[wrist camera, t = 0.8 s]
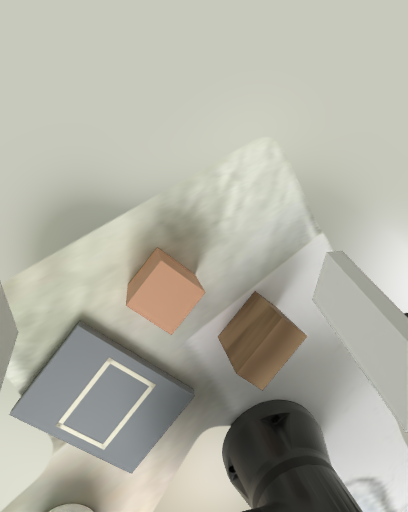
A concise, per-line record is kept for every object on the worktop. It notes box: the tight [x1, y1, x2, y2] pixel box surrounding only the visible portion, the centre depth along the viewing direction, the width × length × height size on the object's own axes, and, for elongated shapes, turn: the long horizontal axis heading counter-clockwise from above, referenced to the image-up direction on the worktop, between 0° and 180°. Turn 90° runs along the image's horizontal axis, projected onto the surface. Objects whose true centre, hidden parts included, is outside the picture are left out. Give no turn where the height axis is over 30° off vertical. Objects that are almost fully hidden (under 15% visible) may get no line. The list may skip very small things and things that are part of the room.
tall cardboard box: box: [218, 291, 307, 391], centre depth 42 cm, size 4×8×9 cm, turn 141°
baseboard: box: [10, 321, 195, 474], centre depth 44 cm, size 18×14×2 cm
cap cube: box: [126, 247, 205, 335], centre depth 40 cm, size 6×6×7 cm
